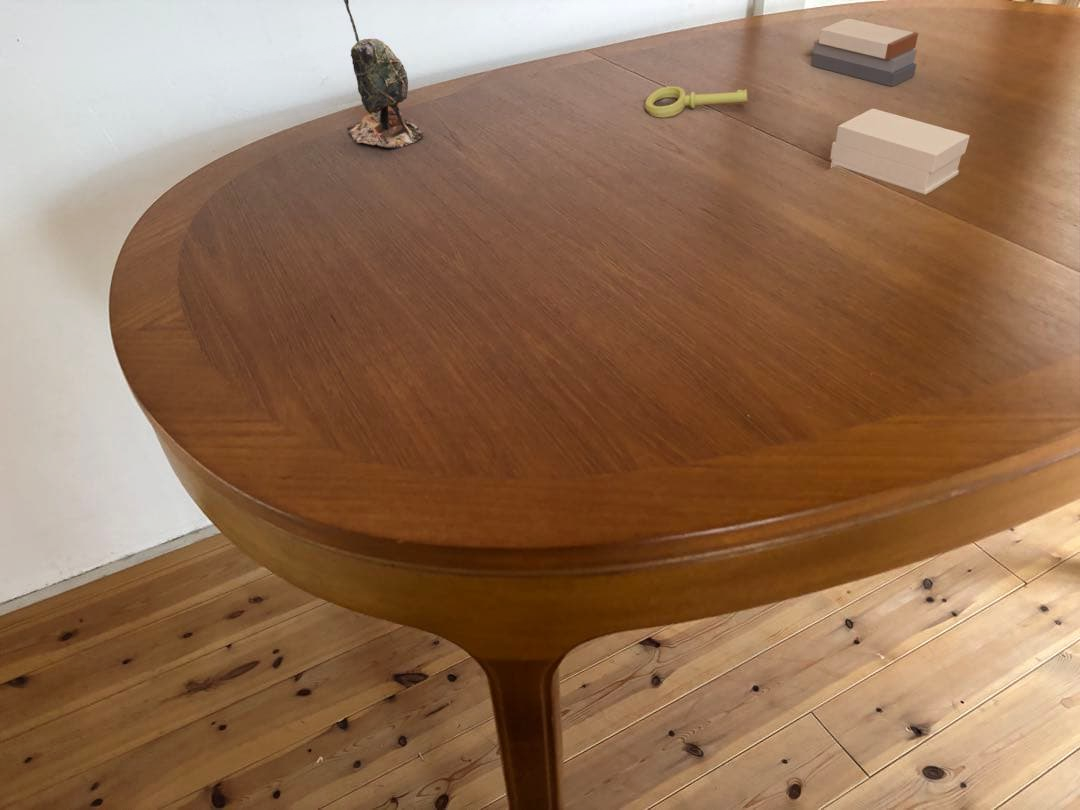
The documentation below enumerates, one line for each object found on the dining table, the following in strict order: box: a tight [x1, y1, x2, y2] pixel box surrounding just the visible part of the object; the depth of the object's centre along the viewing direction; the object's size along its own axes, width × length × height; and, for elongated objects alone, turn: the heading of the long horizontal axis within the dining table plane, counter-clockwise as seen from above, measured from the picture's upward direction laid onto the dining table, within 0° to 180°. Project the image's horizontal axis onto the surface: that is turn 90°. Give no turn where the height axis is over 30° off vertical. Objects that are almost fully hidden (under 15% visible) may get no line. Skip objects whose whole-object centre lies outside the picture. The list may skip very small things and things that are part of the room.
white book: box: [818, 17, 919, 60], centre depth 112 cm, size 10×6×2 cm, turn 42°
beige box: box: [829, 108, 971, 195], centre depth 88 cm, size 11×6×5 cm, turn 42°
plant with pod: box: [343, 0, 424, 149], centre depth 98 cm, size 8×11×20 cm
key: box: [644, 85, 748, 118], centre depth 108 cm, size 7×12×2 cm, turn 95°
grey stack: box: [810, 39, 917, 87], centre depth 114 cm, size 12×5×3 cm, turn 42°
